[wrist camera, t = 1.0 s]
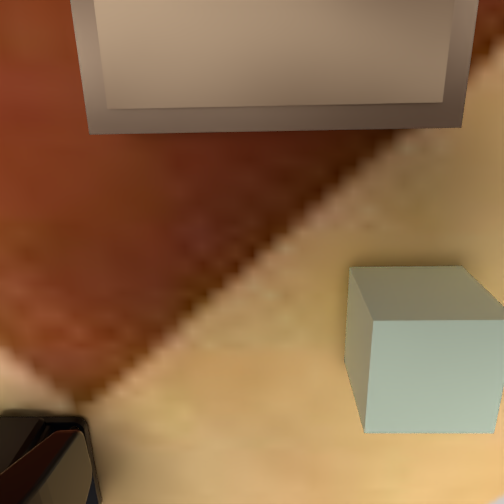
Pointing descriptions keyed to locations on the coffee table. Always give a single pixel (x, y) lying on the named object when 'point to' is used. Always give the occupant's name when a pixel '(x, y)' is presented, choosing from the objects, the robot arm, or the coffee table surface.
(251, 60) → the pedestal
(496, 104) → the coffee table surface
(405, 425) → the sage block
